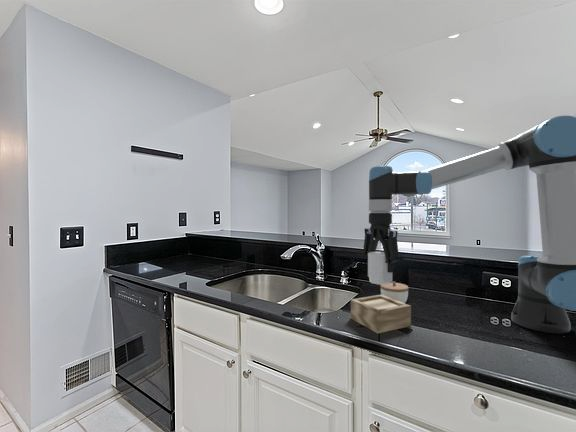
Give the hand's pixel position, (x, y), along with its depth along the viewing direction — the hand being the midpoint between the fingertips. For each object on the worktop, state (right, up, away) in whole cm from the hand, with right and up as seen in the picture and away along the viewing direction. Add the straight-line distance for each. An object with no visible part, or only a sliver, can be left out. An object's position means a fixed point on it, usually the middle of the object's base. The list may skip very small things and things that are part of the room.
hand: (379, 279), depth 102 cm
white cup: (0, -1, 0) cm, 1 cm away
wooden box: (0, -15, 0) cm, 15 cm away
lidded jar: (+12, -15, +19) cm, 26 cm away
